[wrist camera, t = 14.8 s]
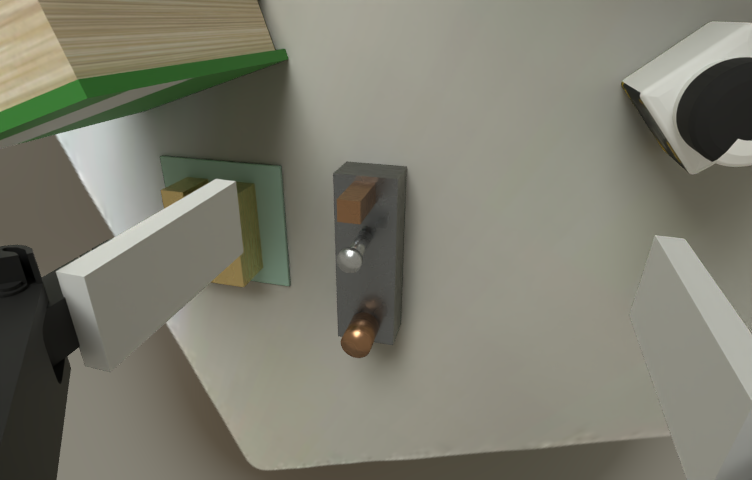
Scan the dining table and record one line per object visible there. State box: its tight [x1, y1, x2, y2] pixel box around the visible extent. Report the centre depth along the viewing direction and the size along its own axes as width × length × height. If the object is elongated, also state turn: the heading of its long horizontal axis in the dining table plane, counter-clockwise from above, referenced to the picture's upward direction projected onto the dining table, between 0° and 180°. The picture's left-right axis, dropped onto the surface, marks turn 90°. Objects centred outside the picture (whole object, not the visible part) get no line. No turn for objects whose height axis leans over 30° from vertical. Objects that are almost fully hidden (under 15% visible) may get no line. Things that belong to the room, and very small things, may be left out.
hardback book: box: [0, 0, 288, 149], centre depth 36 cm, size 18×7×24 cm, turn 108°
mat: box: [160, 156, 291, 286], centre depth 54 cm, size 14×14×1 cm
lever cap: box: [161, 177, 263, 287], centre depth 51 cm, size 10×8×5 cm
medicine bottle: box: [621, 21, 752, 174], centre depth 32 cm, size 7×7×12 cm
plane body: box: [333, 162, 407, 358], centre depth 46 cm, size 18×6×9 cm, turn 179°
